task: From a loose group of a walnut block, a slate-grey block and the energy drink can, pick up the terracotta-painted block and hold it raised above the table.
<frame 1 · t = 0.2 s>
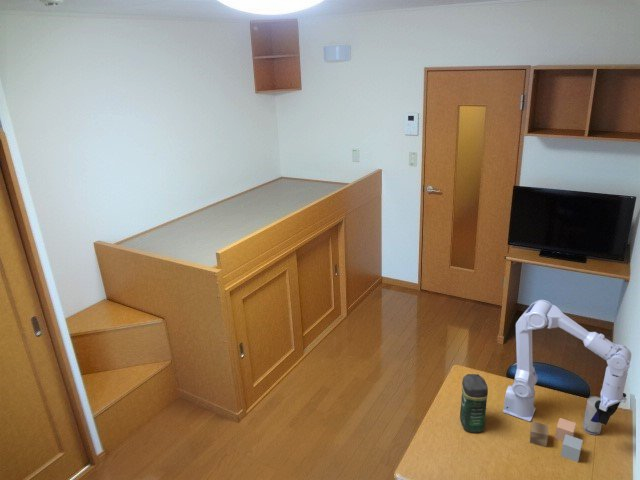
hand: (607, 417, 156), 10 cm above the table, fingers open, 7 cm apart
terracotta block: (564, 436, 163), on the table
coffee jar: (472, 424, 170), on the table
energy drink: (591, 430, 165), on the table
slate block: (570, 454, 156), on the table
walnut block: (538, 440, 162), on the table
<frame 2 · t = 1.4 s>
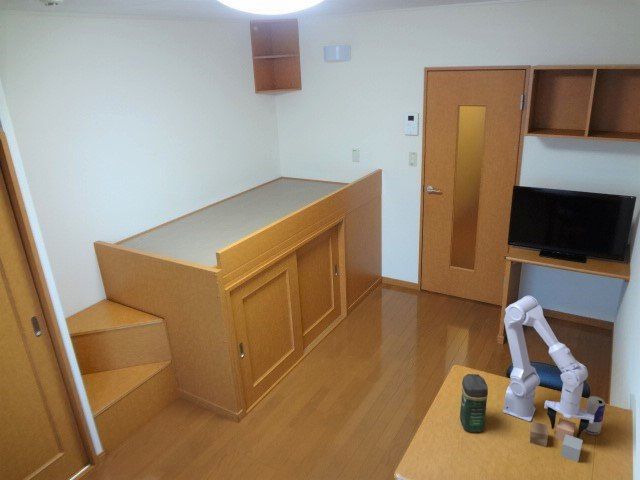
hand: (565, 431, 162), 2 cm above the table, fingers open, 7 cm apart
nothing on the table moved.
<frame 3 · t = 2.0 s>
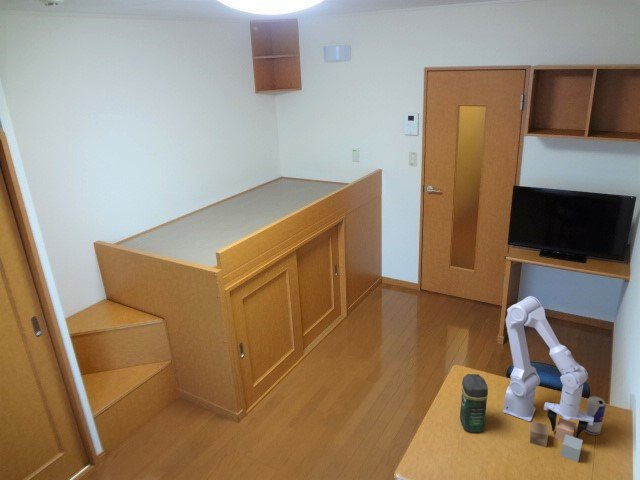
hand: (565, 433, 162), 1 cm above the table, fingers open, 6 cm apart
nothing on the table moved.
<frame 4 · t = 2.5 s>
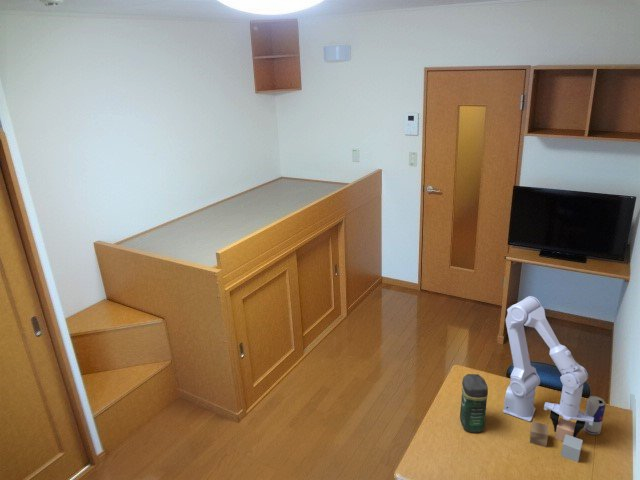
hand: (565, 433, 162), 1 cm above the table, fingers closed on terracotta block, 5 cm apart
terracotta block: (564, 436, 163), on the table, touching gripper
everything else where it was.
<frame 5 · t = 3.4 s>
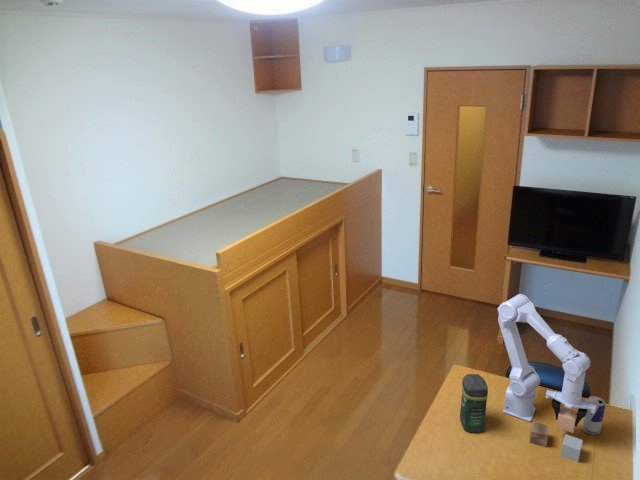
hand: (566, 421, 160), 6 cm above the table, fingers closed on terracotta block, 5 cm apart
terracotta block: (566, 425, 161), point 5 cm above the table, touching gripper
everything else where it was.
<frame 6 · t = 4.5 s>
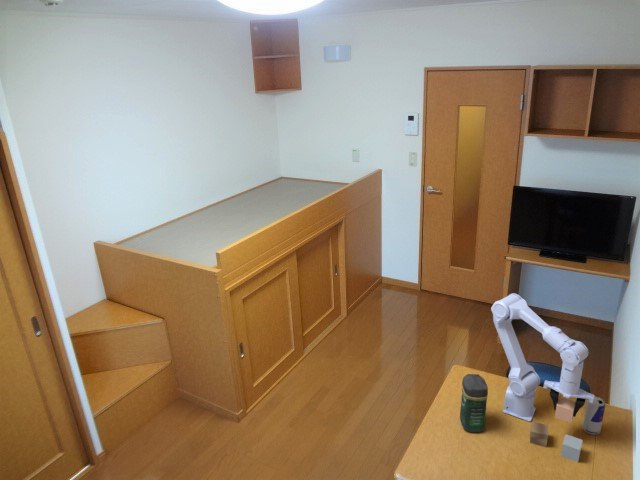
hand: (565, 411, 160), 10 cm above the table, fingers closed on terracotta block, 5 cm apart
terracotta block: (564, 415, 160), point 8 cm above the table, touching gripper
everything else where it was.
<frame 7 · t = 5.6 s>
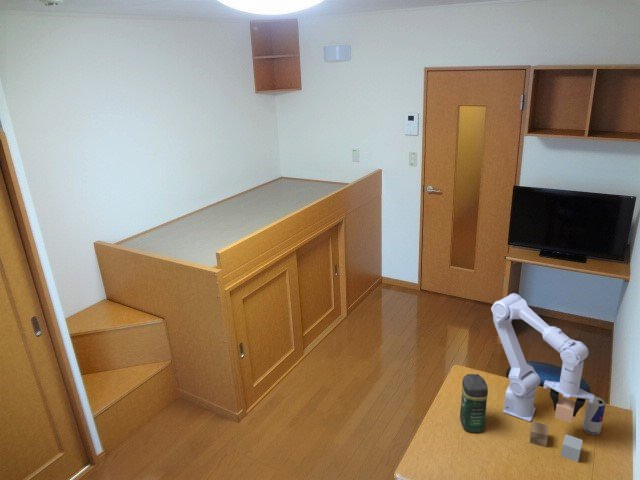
hand: (565, 411, 160), 10 cm above the table, fingers closed on terracotta block, 5 cm apart
terracotta block: (564, 415, 160), point 8 cm above the table, touching gripper
everything else where it was.
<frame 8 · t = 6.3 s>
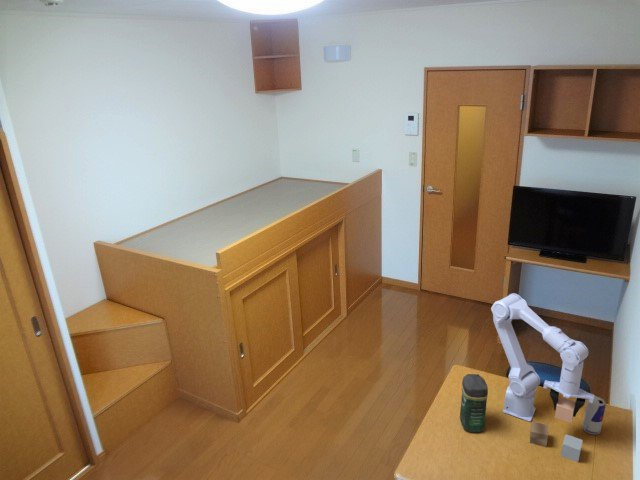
hand: (565, 411, 160), 10 cm above the table, fingers closed on terracotta block, 5 cm apart
terracotta block: (564, 415, 160), point 8 cm above the table, touching gripper
everything else where it was.
at the end: the gripper is holding terracotta block; terracotta block point 8.3 cm above the table; walnut block moved 0.1 cm from its start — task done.
